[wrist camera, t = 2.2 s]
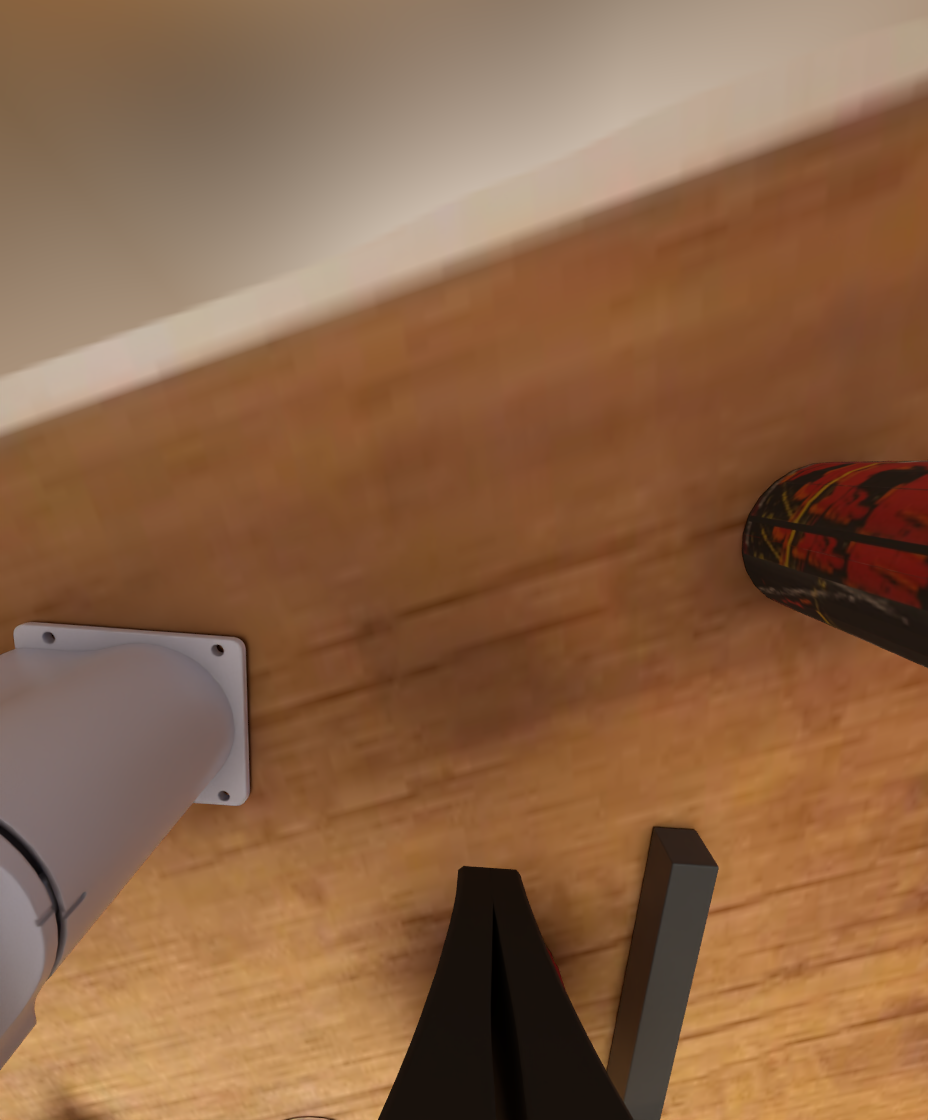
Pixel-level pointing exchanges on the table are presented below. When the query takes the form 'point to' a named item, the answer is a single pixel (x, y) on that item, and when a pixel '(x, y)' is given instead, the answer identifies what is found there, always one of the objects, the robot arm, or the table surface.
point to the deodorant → (848, 549)
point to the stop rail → (661, 968)
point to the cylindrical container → (309, 1118)
